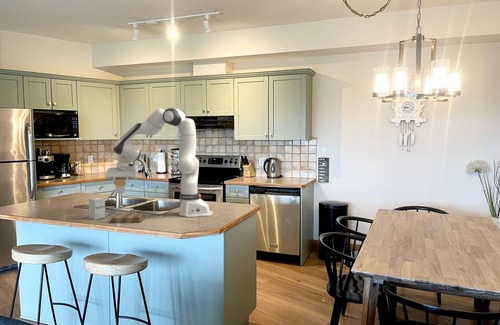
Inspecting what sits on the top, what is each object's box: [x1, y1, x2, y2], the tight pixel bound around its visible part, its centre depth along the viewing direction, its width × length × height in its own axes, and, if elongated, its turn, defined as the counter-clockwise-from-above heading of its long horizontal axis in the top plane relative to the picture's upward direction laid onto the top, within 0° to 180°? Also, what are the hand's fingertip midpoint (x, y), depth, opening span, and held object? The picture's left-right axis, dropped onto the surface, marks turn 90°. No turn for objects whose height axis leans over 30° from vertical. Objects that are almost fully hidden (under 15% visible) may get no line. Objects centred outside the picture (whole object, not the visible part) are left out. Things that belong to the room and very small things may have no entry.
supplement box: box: [88, 197, 106, 220], centre depth 238 cm, size 7×7×13 cm
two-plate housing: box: [114, 179, 126, 194], centre depth 245 cm, size 5×4×9 cm
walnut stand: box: [109, 212, 146, 224], centre depth 234 cm, size 18×16×3 cm
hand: (119, 184), depth 244 cm, fingers closed on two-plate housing, 5 cm apart
